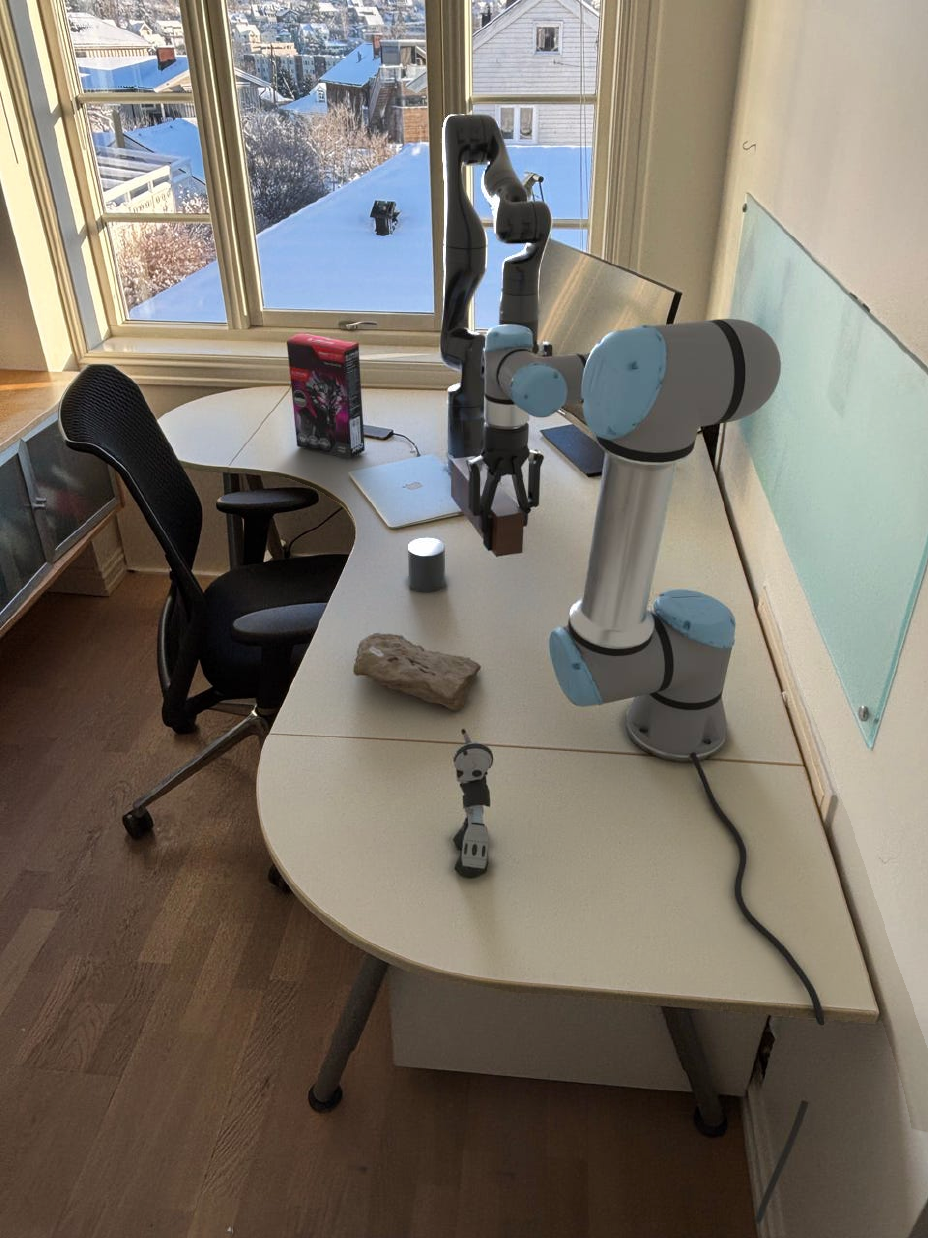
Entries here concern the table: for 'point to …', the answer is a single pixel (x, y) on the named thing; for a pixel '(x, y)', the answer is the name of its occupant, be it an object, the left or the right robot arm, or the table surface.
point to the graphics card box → (326, 394)
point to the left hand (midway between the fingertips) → (515, 397)
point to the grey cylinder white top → (426, 564)
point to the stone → (416, 669)
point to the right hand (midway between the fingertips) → (502, 544)
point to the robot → (473, 807)
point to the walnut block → (503, 510)
